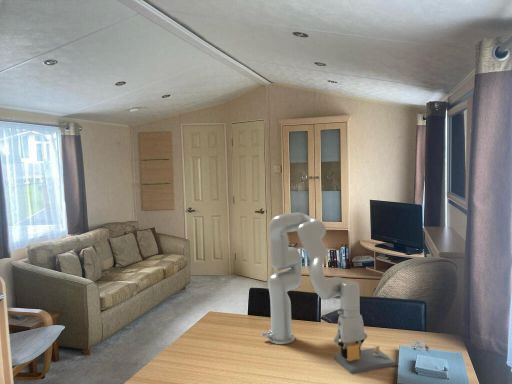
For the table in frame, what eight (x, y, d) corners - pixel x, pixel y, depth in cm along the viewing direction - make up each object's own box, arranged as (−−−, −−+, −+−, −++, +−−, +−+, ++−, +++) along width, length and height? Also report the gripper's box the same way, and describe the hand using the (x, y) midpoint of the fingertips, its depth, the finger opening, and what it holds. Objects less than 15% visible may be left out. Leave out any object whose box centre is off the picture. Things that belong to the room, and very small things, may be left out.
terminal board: (351, 373, 158) (350, 359, 157) (334, 358, 171) (333, 345, 171) (395, 365, 163) (395, 351, 163) (375, 351, 177) (375, 338, 176)
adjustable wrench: (446, 371, 158) (446, 367, 158) (429, 372, 158) (429, 367, 158) (422, 344, 183) (422, 340, 183) (408, 344, 183) (408, 340, 183)
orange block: (348, 360, 162) (348, 346, 162) (342, 355, 167) (342, 341, 167) (359, 358, 164) (359, 344, 163) (353, 353, 168) (353, 339, 168)
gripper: (335, 317, 158) (336, 363, 159) (373, 312, 163) (374, 356, 164) (326, 311, 166) (327, 355, 166) (363, 306, 170) (364, 349, 171)
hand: (350, 355), depth 165 cm, fingers open, 5 cm apart
